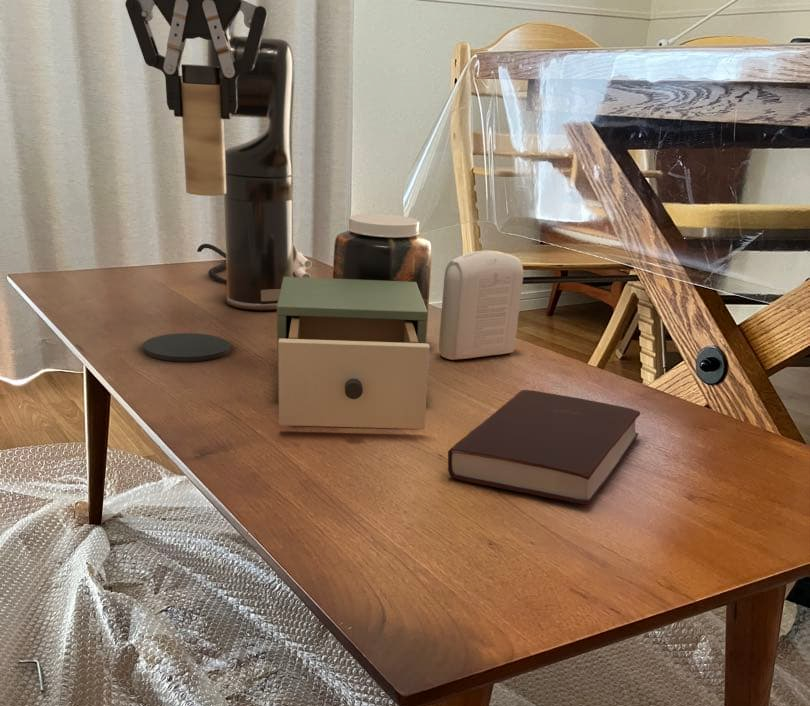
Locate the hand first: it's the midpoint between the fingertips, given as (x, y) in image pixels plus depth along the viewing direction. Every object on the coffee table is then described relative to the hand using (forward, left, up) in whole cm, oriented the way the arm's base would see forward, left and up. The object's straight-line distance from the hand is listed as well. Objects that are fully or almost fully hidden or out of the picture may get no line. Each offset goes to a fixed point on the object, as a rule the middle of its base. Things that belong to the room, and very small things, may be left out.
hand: (202, 116), depth 93 cm
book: (+27, +33, -26) cm, 50 cm away
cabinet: (+7, +15, -25) cm, 31 cm away
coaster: (-4, -4, -25) cm, 26 cm away
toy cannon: (-48, +6, -26) cm, 55 cm away
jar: (-9, +19, -26) cm, 33 cm away
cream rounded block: (-6, +31, -26) cm, 41 cm away
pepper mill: (0, 0, -7) cm, 7 cm away
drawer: (+18, +15, -25) cm, 34 cm away
